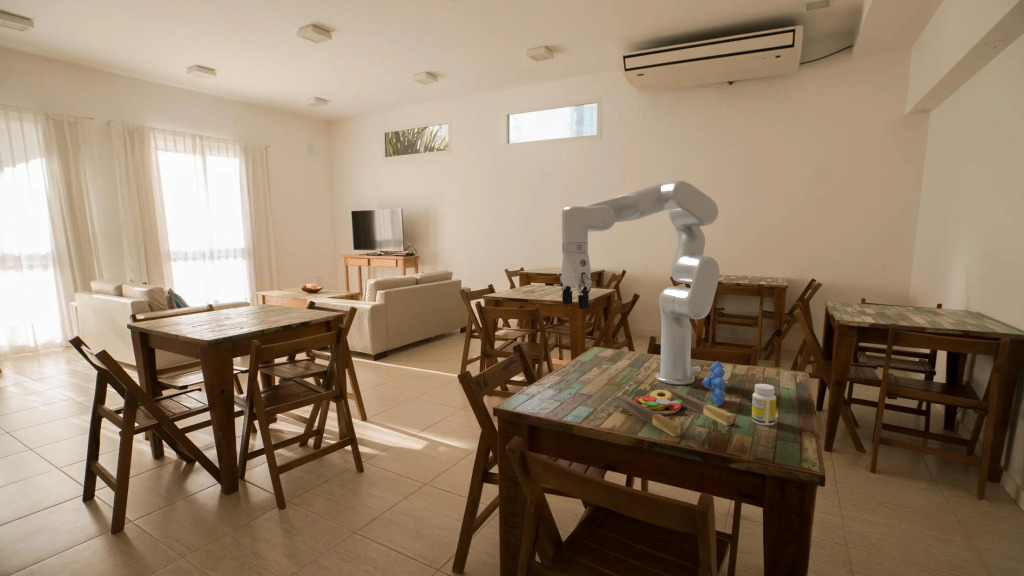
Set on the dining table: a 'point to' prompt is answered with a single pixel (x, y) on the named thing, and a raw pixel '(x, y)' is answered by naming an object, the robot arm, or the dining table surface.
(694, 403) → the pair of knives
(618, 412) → the dining table surface
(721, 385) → the grapes
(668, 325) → the robot arm
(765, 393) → the supplement bottle
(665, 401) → the toy food set
